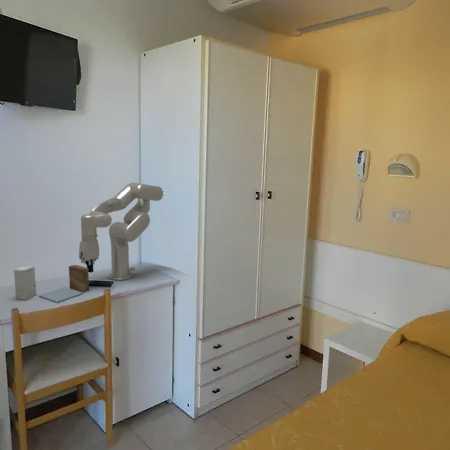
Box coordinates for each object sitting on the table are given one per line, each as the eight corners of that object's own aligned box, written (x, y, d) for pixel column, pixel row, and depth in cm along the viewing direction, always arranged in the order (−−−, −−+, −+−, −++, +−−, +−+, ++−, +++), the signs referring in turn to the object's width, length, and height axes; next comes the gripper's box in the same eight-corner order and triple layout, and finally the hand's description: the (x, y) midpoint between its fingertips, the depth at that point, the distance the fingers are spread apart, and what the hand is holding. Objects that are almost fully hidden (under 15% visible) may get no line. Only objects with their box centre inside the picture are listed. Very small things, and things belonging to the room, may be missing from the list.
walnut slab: (76, 286, 224) (75, 264, 221) (89, 290, 218) (88, 268, 216) (69, 288, 220) (68, 266, 218) (82, 292, 215) (81, 269, 213)
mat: (64, 288, 220) (64, 287, 220) (83, 294, 213) (83, 292, 213) (39, 296, 207) (38, 295, 207) (57, 303, 200) (57, 301, 200)
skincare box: (26, 300, 203) (24, 270, 200) (15, 299, 203) (13, 269, 201) (36, 294, 211) (35, 265, 208) (25, 293, 212) (23, 264, 209)
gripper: (95, 234, 229) (96, 267, 232) (72, 239, 216) (73, 273, 220) (105, 236, 225) (106, 269, 228) (82, 241, 212) (83, 276, 216)
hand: (90, 271), depth 224 cm, fingers closed
